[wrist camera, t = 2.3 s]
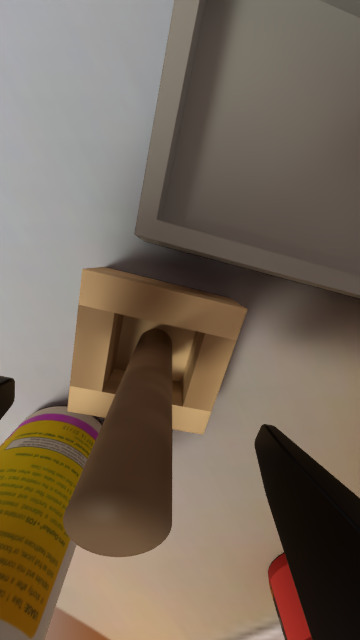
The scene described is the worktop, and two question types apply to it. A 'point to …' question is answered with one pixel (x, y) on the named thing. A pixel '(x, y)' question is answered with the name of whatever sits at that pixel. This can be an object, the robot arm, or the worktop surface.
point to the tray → (260, 139)
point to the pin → (130, 461)
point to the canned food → (287, 601)
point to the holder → (138, 317)
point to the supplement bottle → (38, 515)
